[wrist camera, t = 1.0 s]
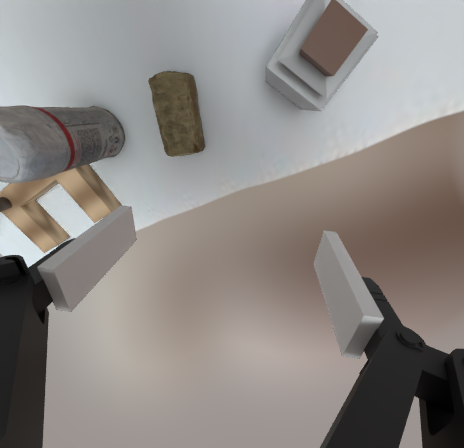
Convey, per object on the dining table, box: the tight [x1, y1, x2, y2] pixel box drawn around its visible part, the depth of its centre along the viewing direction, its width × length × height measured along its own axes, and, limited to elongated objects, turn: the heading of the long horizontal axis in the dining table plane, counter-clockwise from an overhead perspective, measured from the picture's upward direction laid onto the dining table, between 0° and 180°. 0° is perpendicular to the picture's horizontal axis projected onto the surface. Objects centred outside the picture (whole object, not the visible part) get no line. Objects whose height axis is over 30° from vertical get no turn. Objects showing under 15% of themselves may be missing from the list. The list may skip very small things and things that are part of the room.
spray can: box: [0, 106, 125, 183], centre depth 31 cm, size 8×8×20 cm
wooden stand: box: [0, 164, 122, 253], centre depth 39 cm, size 14×22×18 cm, turn 120°
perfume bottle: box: [266, 0, 378, 111], centre depth 24 cm, size 7×7×18 cm
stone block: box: [148, 71, 205, 157], centre depth 34 cm, size 6×12×5 cm, turn 7°
